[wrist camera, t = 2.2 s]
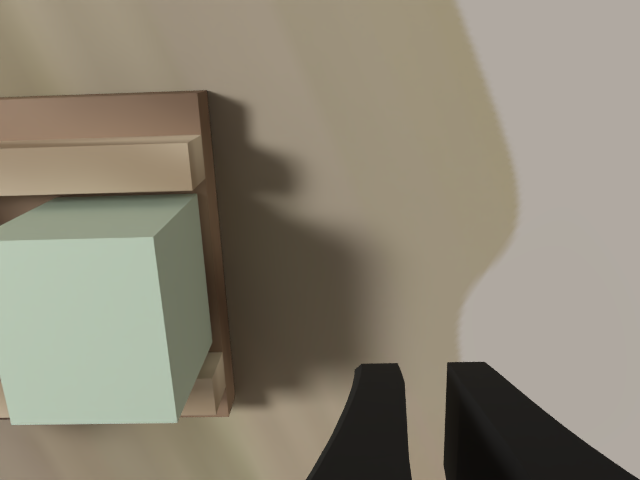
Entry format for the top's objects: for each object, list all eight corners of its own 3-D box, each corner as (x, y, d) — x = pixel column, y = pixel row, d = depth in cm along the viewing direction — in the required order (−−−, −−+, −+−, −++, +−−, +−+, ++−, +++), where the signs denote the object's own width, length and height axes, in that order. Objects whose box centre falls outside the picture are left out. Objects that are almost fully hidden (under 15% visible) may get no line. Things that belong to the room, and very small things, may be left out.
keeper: (212, 342, 17) (177, 422, 14) (82, 344, 17) (11, 425, 14) (197, 193, 16) (153, 236, 12) (55, 197, 16) (-32, 241, 12)
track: (235, 395, 19) (200, 511, 14) (-67, 399, 20) (-202, 514, 15) (206, 90, 16) (150, 105, 11) (-150, 102, 17) (-355, 122, 12)
